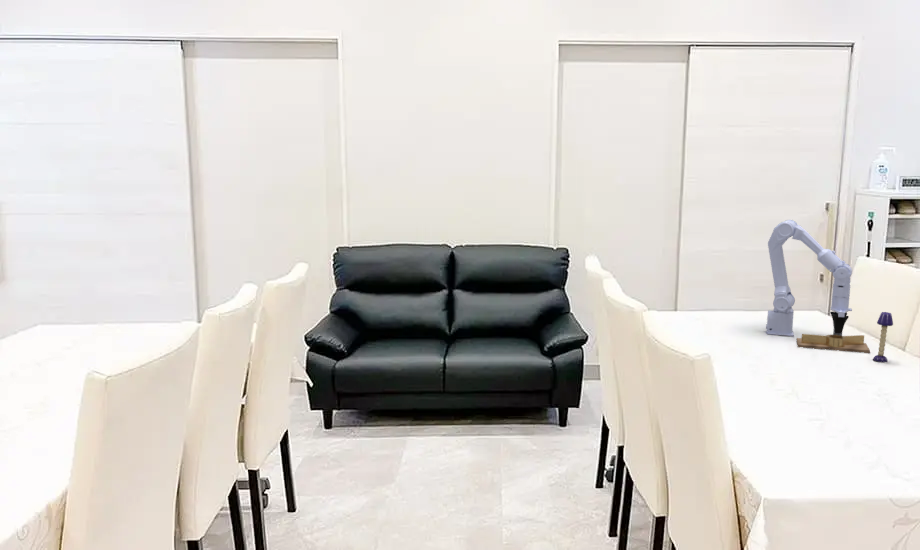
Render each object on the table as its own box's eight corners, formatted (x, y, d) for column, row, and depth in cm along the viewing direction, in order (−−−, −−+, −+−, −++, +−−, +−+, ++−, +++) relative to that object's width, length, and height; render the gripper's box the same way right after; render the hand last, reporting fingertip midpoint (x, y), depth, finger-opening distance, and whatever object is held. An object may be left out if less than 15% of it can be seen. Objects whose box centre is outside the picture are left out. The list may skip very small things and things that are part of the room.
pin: (833, 336, 273) (834, 318, 272) (832, 335, 276) (834, 317, 275) (842, 337, 272) (843, 319, 271) (841, 335, 275) (843, 317, 274)
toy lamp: (885, 359, 248) (889, 311, 246) (892, 363, 244) (896, 314, 241) (870, 358, 249) (874, 311, 246) (877, 362, 244) (881, 314, 242)
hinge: (801, 344, 264) (802, 336, 264) (800, 338, 272) (801, 330, 272) (866, 349, 257) (867, 341, 256) (863, 343, 265) (864, 335, 264)
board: (797, 347, 264) (797, 344, 264) (796, 340, 274) (796, 337, 274) (869, 353, 256) (869, 350, 256) (865, 346, 265) (865, 343, 265)
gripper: (855, 300, 263) (852, 337, 266) (850, 293, 277) (847, 328, 279) (833, 299, 266) (830, 335, 268) (829, 292, 279) (827, 327, 281)
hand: (837, 332), depth 274 cm, fingers closed on pin, 3 cm apart
